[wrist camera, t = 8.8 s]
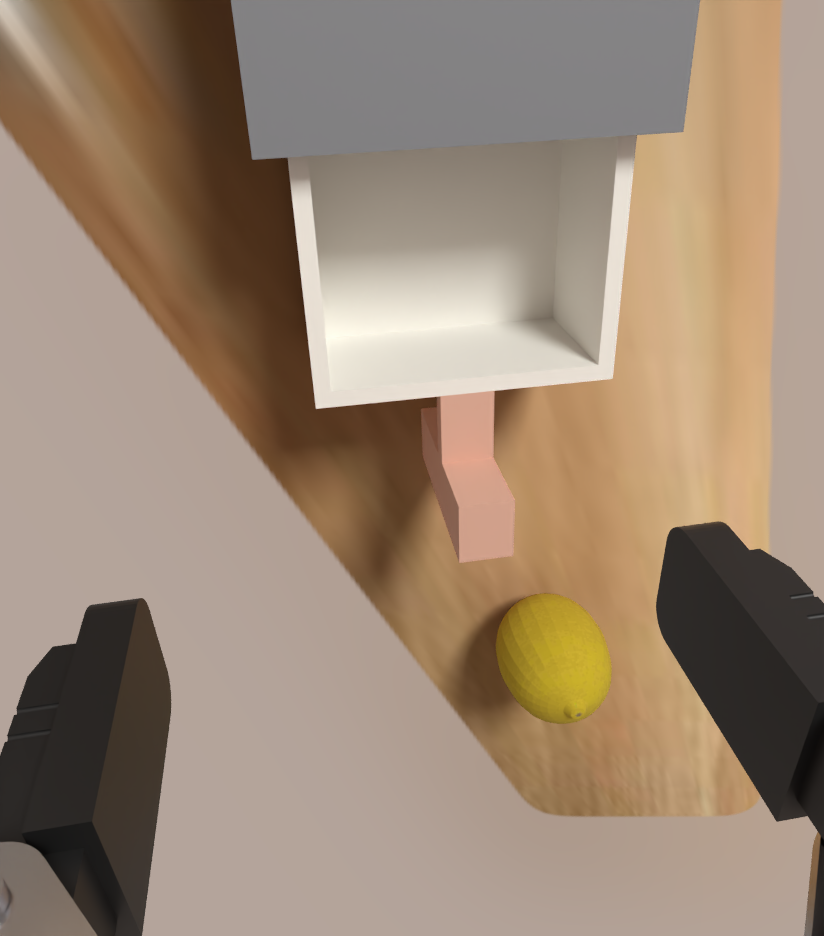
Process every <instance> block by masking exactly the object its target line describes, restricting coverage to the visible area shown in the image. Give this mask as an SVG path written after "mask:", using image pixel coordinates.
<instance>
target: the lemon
mask: <svg viewBox="0 0 824 936" xmlns="http://www.w3.org/2000/svg"><path fill="white" fill-rule="evenodd" d="M496 655H497V660H498V664H499V669H500V672H501V675H502V677H503V680H504V681H505V683H506V685H507V687H508V688H509V690H510V691H511V693H512V694H513V696H514V698H515V699H516V700H517V701H518V703H519V704H520V705H521V706H522V707H523V708H524V709H526V710H527V711H528V712H529V713H530V714H532V715H533V716H535V717H537V718H539V719H541V720H544V721H546V722H550V723H557V724H566V723H573V722H577V721H580V720H582V719H584V718H586V717H588V716H589V715H591V714H592V713H593V712H594V711H595V710H596V709H598V707H599V706H600V705H601V704H602V702H603V701H604V699H605V697H606V696H607V693H608V690H609V688H610V684H611V670H612V668H611V660H610V655H609V652H608V648H607V645H606V641H605V639H604V636H603V634H602V632H601V630H600V628H599V627H598V625H597V624H596V623H595V621H594V620H593V618H592V617H591V616H590V614H589V613H588V612H587V611H586V610H585V609H584V608H582V607H581V606H580V605H578V604H577V603H576V602H574V601H572V600H571V599H569V598H566V597H563V596H560V595H557V594H547V593H544V594H535V595H532V596H529V597H526V598H524V599H522V600H521V601H519V602H517V603H516V604H515V605H514V606H512V607H511V608H510V610H509V611H508V612H507V613H506V615H505V616H504V617H503V619H502V622H501V624H500V626H499V629H498V633H497V640H496Z"/></svg>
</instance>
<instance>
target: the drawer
mask: <svg viewBox="0 0 824 936" xmlns="http://www.w3.org/2000/svg"><path fill="white" fill-rule="evenodd" d="M636 138H637V135H629V136H613V137H598V138H582V139H567V140H551V141H536V142H520V143H505V144H489V145H474V146H458V147H443V148H427V149H412V150H396V151H381V152H365V153H350V154H334V155H319V156H303V157H288V166H289V175H290V184H291V193H292V202H293V211H294V219H295V228H296V237H297V246H298V255H299V264H300V273H301V281H302V290H303V299H304V308H305V317H306V326H307V335H308V343H309V352H310V361H311V370H312V379H313V388H314V397H315V405H316V409H320V408H330V407H340V406H349V405H359V404H369V403H379V402H389V401H399V400H408V399H418V398H428V397H437V407H432V408H422V409H421V422H422V449H423V459H424V462H425V465H426V468H427V470H428V473H429V476H430V479H431V482H432V485H433V488H434V491H435V494H436V497H437V499H438V502H439V505H440V508H441V511H442V514H443V517H444V520H445V523H446V525H447V528H448V531H449V534H450V537H451V540H452V543H453V546H454V549H455V552H456V554H457V557H458V560H459V563H461V562H469V561H477V560H485V559H493V558H501V557H508V556H513V548H514V517H515V499H514V497H513V495H512V493H511V491H510V489H509V487H508V485H507V483H506V481H505V480H504V478H503V476H502V474H501V472H500V470H499V468H498V466H497V464H496V462H495V460H494V458H493V449H494V391H497V390H507V389H517V388H527V387H536V386H546V385H556V384H566V383H576V382H586V381H595V380H605V379H613V370H614V360H615V350H616V340H617V330H618V320H619V310H620V300H621V290H622V279H623V269H624V259H625V249H626V239H627V229H628V219H629V209H630V199H631V189H632V179H633V169H634V158H635V148H636Z"/></svg>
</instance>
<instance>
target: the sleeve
mask: <svg viewBox="0 0 824 936" xmlns="http://www.w3.org/2000/svg"><path fill="white" fill-rule="evenodd" d="M699 4H700V0H231V6H232V13H233V21H234V28H235V36H236V43H237V50H238V58H239V65H240V73H241V80H242V88H243V95H244V102H245V110H246V117H247V125H248V132H249V139H250V147H251V154H252V160H257V159H272V158H288V157H303V156H319V155H334V154H350V153H365V152H381V151H396V150H412V149H427V148H443V147H458V146H474V145H489V144H505V143H520V142H536V141H551V140H567V139H582V138H598V137H613V136H629V135H644V134H660V133H675V132H683V130H684V122H685V114H686V106H687V98H688V90H689V83H690V75H691V67H692V59H693V51H694V43H695V35H696V27H697V20H698V12H699Z"/></svg>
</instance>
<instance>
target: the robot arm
mask: <svg viewBox="0 0 824 936" xmlns="http://www.w3.org/2000/svg"><path fill="white" fill-rule="evenodd" d="M656 611H657V619H658V624H659V627H660V630H661V633H662V636H663V638H664V640H665V642H666V643H667V645H668V647H669V648H670V650H671V651H672V653H673V655H674V656H675V658H676V659H677V661H678V663H679V664H680V666H681V668H682V669H683V671H684V672H685V674H686V676H687V677H688V679H689V681H690V682H691V684H692V685H693V687H694V689H695V690H696V692H697V693H698V695H699V697H700V698H701V700H702V702H703V703H704V705H705V706H706V708H707V710H708V711H709V713H710V714H711V716H712V718H713V719H714V721H715V723H716V724H717V726H718V727H719V729H720V731H721V732H722V734H723V735H724V737H725V739H726V740H727V742H728V744H729V745H730V747H731V748H732V750H733V752H734V753H735V755H736V757H737V758H738V760H739V761H740V763H741V765H742V766H743V768H744V769H745V771H746V773H747V774H748V776H749V778H750V779H751V781H752V782H753V784H754V786H755V787H756V789H757V790H758V792H759V794H760V795H761V797H762V799H763V800H764V802H765V803H766V805H767V807H768V808H769V810H770V811H771V813H772V815H773V816H774V818H775V820H776V821H783V820H788V819H794V818H799V817H805V816H808V817H809V819H810V820H811V821H812V823H813V825H814V826H815V827H816V829H817V831H818V833H817V835H816V837H815V840H814V844H813V851H812V861H811V872H810V882H809V892H808V902H807V913H806V923H805V933H804V936H824V603H823V602H822V601H821V600H820V599H819V598H818V597H814V595H813V591H812V590H811V589H810V588H809V587H808V586H807V585H806V583H805V582H803V580H802V579H801V578H800V577H799V576H798V575H797V574H796V573H795V571H794V570H793V569H792V568H791V567H789V566H787V565H786V564H784V563H782V562H780V561H779V560H777V559H776V558H774V557H772V556H771V555H769V554H767V553H766V552H764V551H763V550H761V549H755V550H749V549H748V548H747V547H746V546H745V545H744V543H743V542H742V541H741V540H740V539H739V538H738V537H737V535H736V534H735V533H734V532H733V531H732V530H731V529H730V527H729V526H728V525H726V524H725V523H723V522H711V523H704V524H696V525H689V526H682V527H675V528H673V529H672V530H671V531H670V532H669V534H668V537H667V542H666V548H665V554H664V560H663V565H662V571H661V577H660V583H659V589H658V595H657V602H656ZM170 715H171V690H170V683H169V676H168V671H167V668H166V665H165V661H164V658H163V654H162V651H161V647H160V644H159V641H158V638H157V634H156V631H155V627H154V624H153V621H152V617H151V614H150V610H149V607H148V605H147V603H146V601H145V600H144V599H143V598H139V599H133V600H125V601H117V602H110V603H103V604H95V605H90V606H89V607H88V608H87V610H86V612H85V615H84V618H83V622H82V625H81V629H80V632H79V636H78V639H77V642H76V644H69V645H62V646H55V647H52V648H51V650H50V651H49V652H48V653H47V654H46V655H45V657H44V658H43V659H42V660H41V661H40V662H39V664H38V665H37V666H36V667H35V669H34V670H33V671H32V672H31V673H30V674H29V676H28V677H27V680H26V683H25V686H24V689H23V691H22V694H21V697H20V700H19V703H18V706H17V715H14V717H13V720H12V723H11V726H10V729H9V732H8V735H7V736H8V741H7V742H5V743H4V746H3V749H2V752H1V755H0V936H142V931H143V923H144V916H145V908H146V900H147V893H148V884H149V877H150V870H151V862H152V854H153V846H154V839H155V831H156V823H157V816H158V807H159V800H160V793H161V784H162V777H163V769H164V762H165V754H166V747H167V738H168V731H169V723H170Z"/></svg>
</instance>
